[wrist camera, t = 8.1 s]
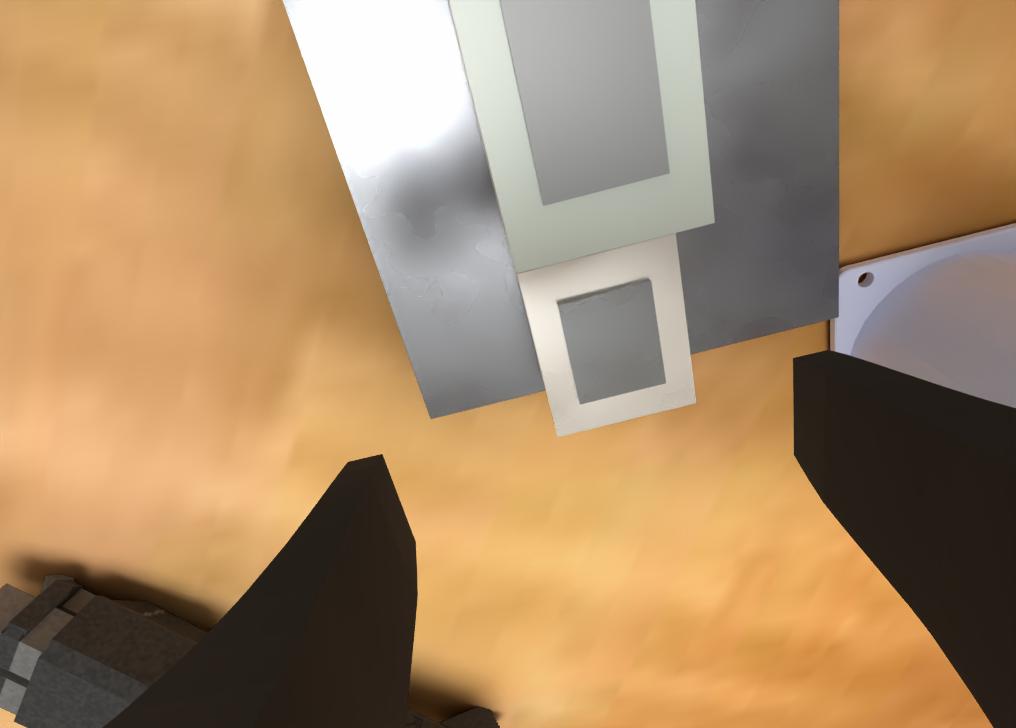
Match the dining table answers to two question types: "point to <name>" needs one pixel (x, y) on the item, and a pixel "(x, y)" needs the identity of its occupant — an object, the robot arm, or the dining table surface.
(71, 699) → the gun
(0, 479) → the dining table surface
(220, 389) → the dining table surface
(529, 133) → the block
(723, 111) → the panel
